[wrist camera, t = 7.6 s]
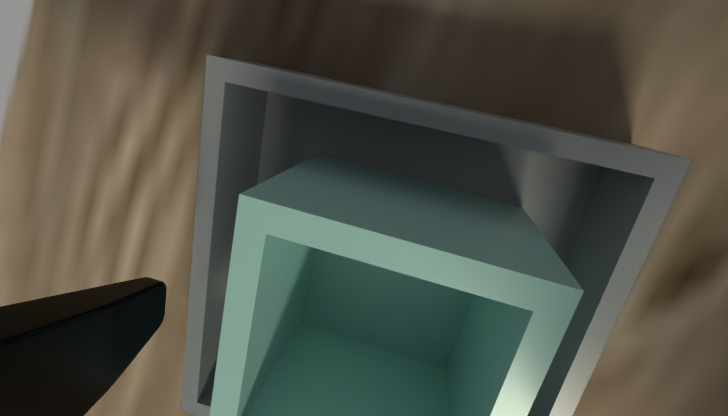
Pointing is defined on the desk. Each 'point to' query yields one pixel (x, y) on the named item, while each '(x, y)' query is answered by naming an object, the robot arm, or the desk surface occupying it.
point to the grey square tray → (433, 165)
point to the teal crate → (385, 299)
